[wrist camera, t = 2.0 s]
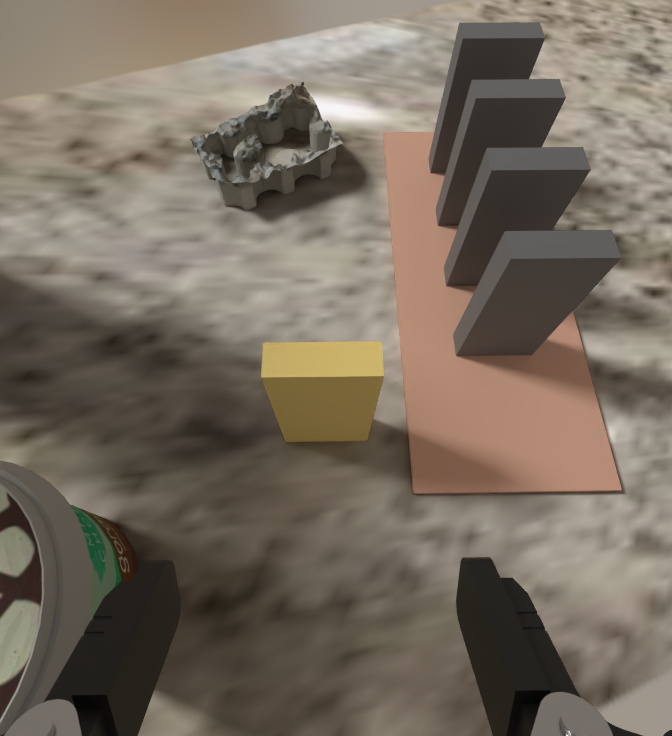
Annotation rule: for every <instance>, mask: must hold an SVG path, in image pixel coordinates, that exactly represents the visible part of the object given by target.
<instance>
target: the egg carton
mask: <svg viewBox="0 0 672 736" xmlns="http://www.w3.org/2000/svg"><path fill="white" fill-rule="evenodd" d="M303 85H304V82H301V83H298V84H297V85H296V86H294V85H292V84H291V85H289V86H287V87H286V88H285V89H279V90H278V91H277V92H275V93H274V94H273V95H270V97H269V100H268V103H266V104H265V105H260V106H254V107H252V108H251V109H250V111H249V112H247V113H245V114H243V115H241V116H239V117H238V118H232V119H228V120H227V121H225V122H224V123H222V124H221V125H219V126H218V127H216V128H215V129H214V130H213V131H211V132H208V133H207V134H206V136H204V135H202V136H195V137H193V138H192V139H190V140H191V141H192V144H193V147H194V149H195V151H196V152H198V154H199V156H200V159H201V162H202V165H203V168H204V172H205V174H206V176H207V177H208V179H213V178H216V183H217V187H218V190H219V193H220V198H221V200H222V202H223V203H224V205H225V206H229V205H237V206H240V207H242V208H243V209H245V210H249V209H252V208H254V207H256V206H257V204H256V199H257V196H258V195H259V194H260V193H261V192H263V191H266V190H271V189H272V190H277V191H280V192H281V193H282V194H284V195H285V194H288V193H290V192H292V191H294V190H295V186H294V183H295V181H296V179H297V178H298V177H300V176H302V175H306V174H312V175H315V176H318V177H319V178H320V179H323V178H326V177H328V176H330V175H331V174H332V172H331V165H332V164H333V163H334V162H335V160H336V146H338V145H342V144H343V142H342V141H341V139H340V138H339V136H338V134H337V133H336V132H334V131H333V130H332V128H331V126H330V124H329V122H328V121H325V122H324V121H323V120H322V118H321V116H320V113H319V110H318V108H317V105H316V103H315V101H314V100H313V98H312V97H311V96H310V95H309V93H308V91H307V90H306V88H305V87H304V86H303ZM289 128H296V129H298V130H301V131H308V130H310V146H311V148H312V150H313V151H314V152H316V153H314V152H310V151H309V150H306V151H304V152H303V153H300V152H299V151H297V150H294V149H286V150H282V151H280V152H279V153H278V154H277V155H276V158H275V161H276V163H277V164H278V165H276V166H275V167H274V166H273V165H272V164H271V163H269V162H267V163H265V159H264V153H263V147H262V144H261V142H263V143H265V144H275V143H277V142H279V141H281V140H282V139H283V137H284V131H285V130H287V129H289ZM260 141H261V142H260ZM221 154H224V155H225V156H227V157H230V158H234V160H235V164H236V168H237V172H238V176H237V177H236V180H234V181H232V182H228V180H227V176H226V172H225V169H224V165H223V160H222V158H221V156H220V155H221ZM282 167H283V168H285V169H284V170H281V168H282Z"/></svg>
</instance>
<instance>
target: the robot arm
mask: <svg viewBox="0 0 672 736" xmlns="http://www.w3.org/2000/svg"><path fill="white" fill-rule="evenodd" d="M456 607H457V616H458V621H459V625H460V628H461V631H462V635H463V638H464V641H465V644H466V648H467V651H468V654H469V658H470V661H471V664H472V668H473V671H474V674H475V677H476V681H477V684H478V687H479V691H480V694H481V697H482V701H483V704H484V707H485V710H486V714H487V717H488V720H489V724H490V727H491V730H492V734H493V736H642V735H639V734H636V733H632V732H629V731H626V730H623V729H621V728H618V727H616V726H614V725H612V724H610V723H608V722H607V721H606V720H605V719H604V718H603V716H602V715H601V714H600V713H599V712H598V711H597V710H596V709H595V708H594V707H593V706H592V705H591V704H589V703H588V702H587V701H585V700H583V699H582V698H581V697H580V696H579V694H578V692H577V690H576V689H575V687H574V685H573V683H572V681H571V679H570V677H569V675H568V673H567V671H566V669H565V667H564V665H563V663H562V661H561V659H560V657H559V655H558V653H557V651H556V649H555V647H554V645H553V643H552V641H551V639H550V637H549V635H548V633H547V631H545V627H544V625H543V623H542V621H541V619H540V617H539V616H538V615H537V611H536V609H535V607H534V605H533V603H532V601H531V599H530V597H529V595H528V593H527V592H526V591H525V590H524V589H523V588H522V587H521V586H520V585H519V584H518V583H517V582H516V581H515V580H514V579H513V578H500V576H499V574H498V572H497V570H496V567H495V565H494V563H493V561H492V559H491V558H489V557H477V558H462V559H461V564H460V572H459V580H458V589H457V597H456ZM179 616H180V597H179V591H178V585H177V579H176V574H175V568H174V563H173V561H171V560H150V561H143V562H142V563H141V564H140V566H139V567H138V569H137V571H136V573H135V575H134V577H133V579H132V581H129V582H120V583H119V584H118V585H117V586H115V587H114V588H113V589H112V590H111V591H110V592H109V593H108V594H107V595H106V596H105V597H104V598H103V600H102V602H101V603H100V605H99V607H98V609H97V610H96V612H95V614H94V615H93V619H92V620H91V621H90V622H89V624H88V626H87V628H86V629H85V631H84V635H83V636H81V638H80V640H79V642H78V643H77V645H76V647H75V649H74V650H73V652H72V654H71V656H70V657H69V659H68V661H67V663H66V664H65V666H64V668H63V669H62V671H61V673H60V675H59V676H58V678H57V680H56V682H55V683H54V685H53V687H52V689H51V690H50V692H49V694H48V695H47V697H46V699H45V700H44V702H43V703H41V704H39V705H37V706H35V707H33V708H31V709H30V710H28V711H27V712H25V713H24V714H23V715H22V716H20V717H19V718H18V719H17V720H16V721H15V722H14V723H13V724H12V726H11V727H10V728H9V729H8V731H7V732H6V733H4V734H2V735H0V736H137V735H138V733H139V730H140V727H141V724H142V722H143V719H144V716H145V713H146V711H147V708H148V705H149V702H150V700H151V697H152V694H153V691H154V689H155V686H156V683H157V680H158V678H159V675H160V672H161V669H162V667H163V664H164V661H165V658H166V656H167V653H168V650H169V647H170V644H171V642H172V639H173V636H174V633H175V631H176V628H177V625H178V621H179ZM664 736H672V730H670V731H668V732H666V733H665V734H664Z"/></svg>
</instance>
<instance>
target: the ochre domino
mask: <svg viewBox="0 0 672 736" xmlns="http://www.w3.org/2000/svg"><path fill="white" fill-rule="evenodd" d="M383 378H384V369H383V354H382V341H367V342H268V343H263V354H262V370H261V379H262V381H263V384H264V387H265V389H266V392H267V394H268V397H269V400H270V402H271V405H272V408H273V410H274V413H275V416H276V418H277V421H278V423H279V426H280V429H281V431H282V434H283V437H284V439H285V442H325V441H367V440H368V436H369V432H370V428H371V424H372V420H373V417H374V413H375V409H376V405H377V401H378V397H379V393H380V389H381V386H382V382H383Z"/></svg>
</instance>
